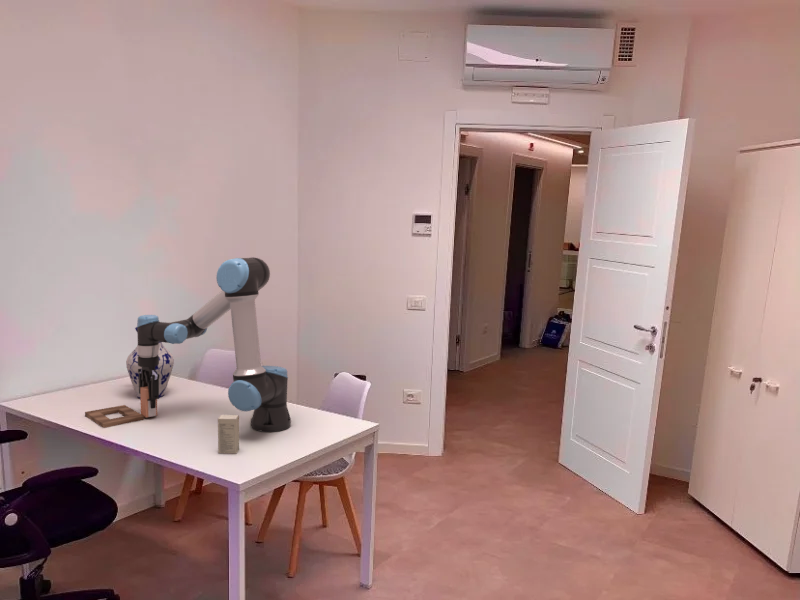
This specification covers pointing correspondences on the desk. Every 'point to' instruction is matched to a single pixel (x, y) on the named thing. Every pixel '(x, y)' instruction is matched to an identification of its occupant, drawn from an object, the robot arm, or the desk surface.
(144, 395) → the peg
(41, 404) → the desk surface
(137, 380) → the vase
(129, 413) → the socket frame
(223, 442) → the skincare box
